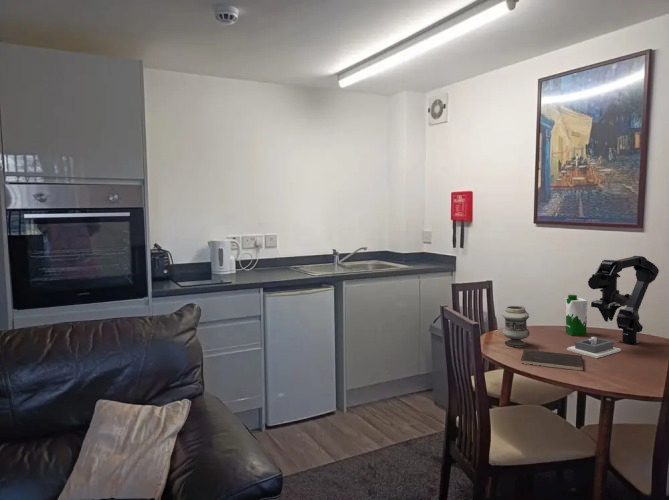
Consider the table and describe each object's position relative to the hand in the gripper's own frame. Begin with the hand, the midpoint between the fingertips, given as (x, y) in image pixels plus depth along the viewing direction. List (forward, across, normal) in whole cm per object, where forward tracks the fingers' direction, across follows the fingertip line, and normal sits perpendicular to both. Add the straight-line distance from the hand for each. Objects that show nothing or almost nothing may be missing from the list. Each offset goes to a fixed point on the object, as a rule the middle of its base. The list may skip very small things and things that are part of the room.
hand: (608, 321), depth 215 cm
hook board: (+12, -11, 0) cm, 16 cm away
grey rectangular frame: (+11, -11, 0) cm, 15 cm away
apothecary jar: (+12, -31, +26) cm, 42 cm away
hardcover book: (+13, -39, +1) cm, 41 cm away
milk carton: (+12, +8, +21) cm, 26 cm away
